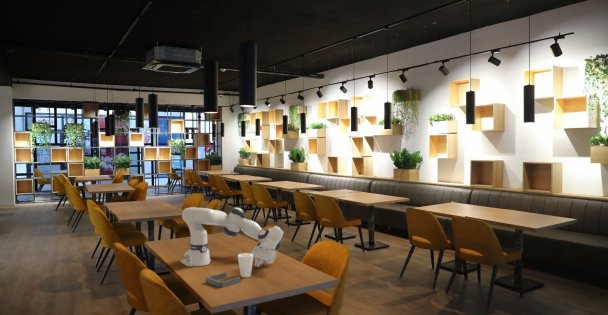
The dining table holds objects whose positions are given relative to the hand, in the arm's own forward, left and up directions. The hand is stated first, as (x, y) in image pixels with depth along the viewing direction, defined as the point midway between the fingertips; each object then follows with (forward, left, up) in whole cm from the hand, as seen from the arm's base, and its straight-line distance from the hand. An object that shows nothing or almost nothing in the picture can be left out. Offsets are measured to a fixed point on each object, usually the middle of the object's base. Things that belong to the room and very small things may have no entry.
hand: (256, 266), depth 265 cm
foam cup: (0, -9, -5) cm, 10 cm away
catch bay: (0, -25, -4) cm, 25 cm away
